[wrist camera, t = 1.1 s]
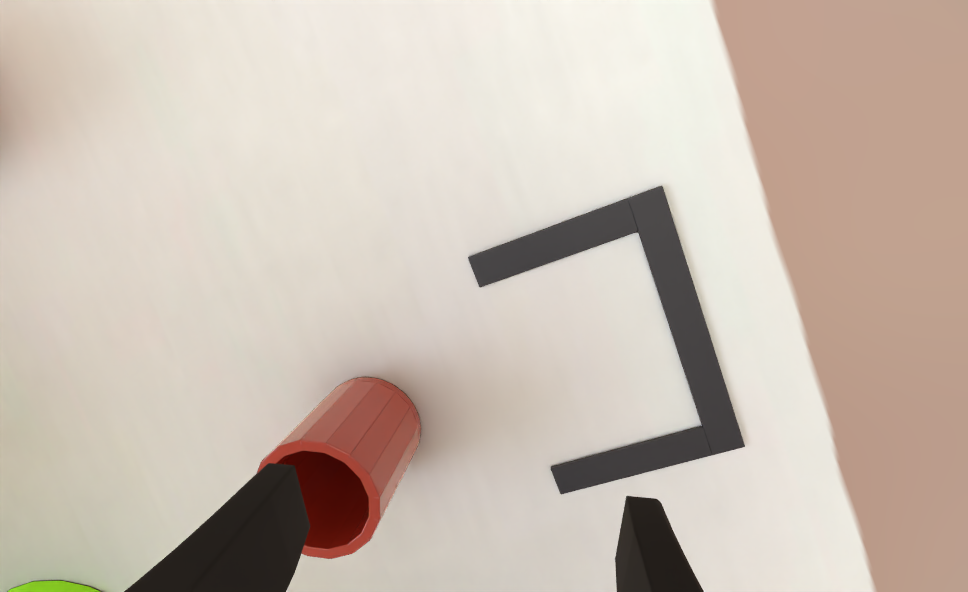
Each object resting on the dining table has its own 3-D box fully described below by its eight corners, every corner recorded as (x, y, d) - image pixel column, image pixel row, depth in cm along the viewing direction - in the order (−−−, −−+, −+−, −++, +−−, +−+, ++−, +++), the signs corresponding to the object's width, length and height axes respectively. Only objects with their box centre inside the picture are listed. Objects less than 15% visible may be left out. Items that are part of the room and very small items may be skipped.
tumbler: (372, 488, 30) (319, 580, 24) (302, 417, 30) (228, 490, 23) (442, 431, 29) (406, 512, 22) (370, 356, 29) (312, 415, 22)
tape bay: (560, 492, 29) (560, 494, 29) (468, 256, 27) (467, 257, 26) (743, 444, 27) (745, 446, 27) (661, 185, 25) (662, 186, 24)
